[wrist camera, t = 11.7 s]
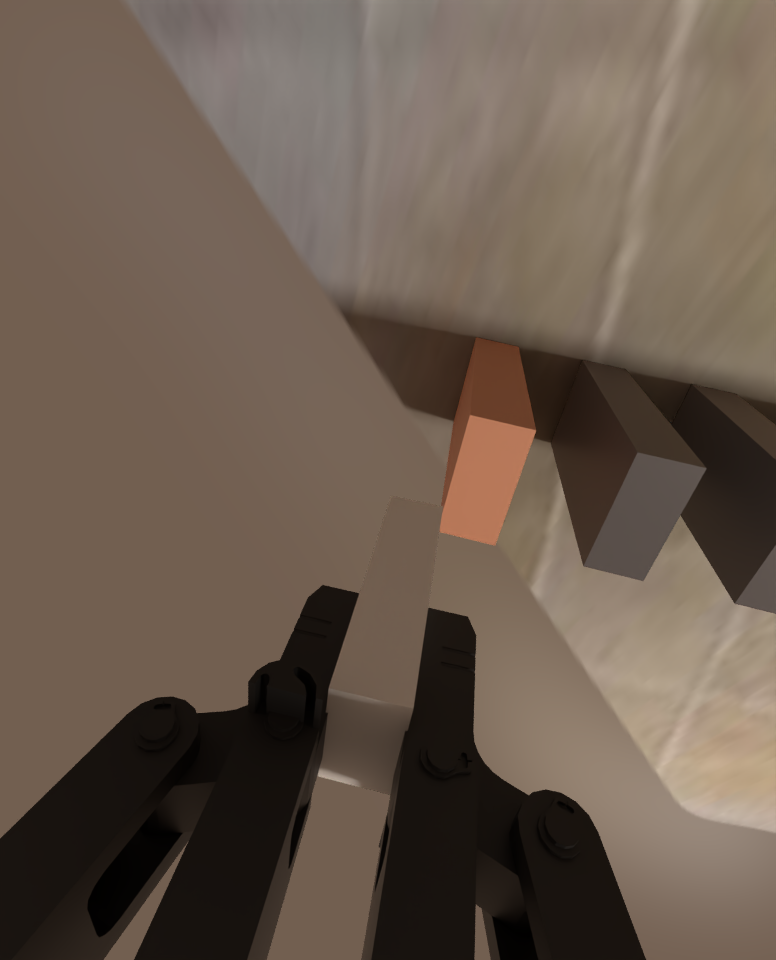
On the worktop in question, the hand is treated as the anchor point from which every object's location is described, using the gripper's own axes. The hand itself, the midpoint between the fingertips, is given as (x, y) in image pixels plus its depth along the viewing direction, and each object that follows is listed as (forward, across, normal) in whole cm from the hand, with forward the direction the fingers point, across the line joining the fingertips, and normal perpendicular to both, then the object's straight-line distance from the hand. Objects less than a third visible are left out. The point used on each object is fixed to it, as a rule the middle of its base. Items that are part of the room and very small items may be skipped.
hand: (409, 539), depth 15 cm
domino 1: (+17, +2, -1) cm, 17 cm away
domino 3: (+17, +14, -1) cm, 22 cm away
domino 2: (+17, +8, -1) cm, 19 cm away
